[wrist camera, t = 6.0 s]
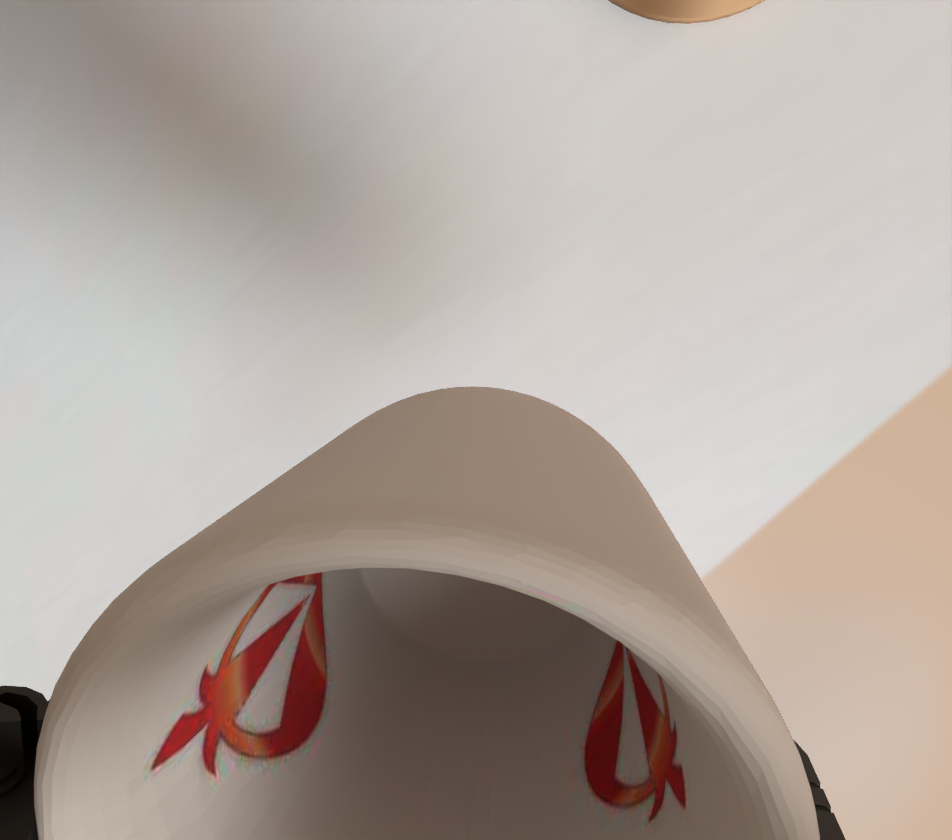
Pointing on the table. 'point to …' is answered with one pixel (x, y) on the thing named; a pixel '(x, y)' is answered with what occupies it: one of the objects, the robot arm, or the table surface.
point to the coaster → (685, 9)
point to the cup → (424, 658)
